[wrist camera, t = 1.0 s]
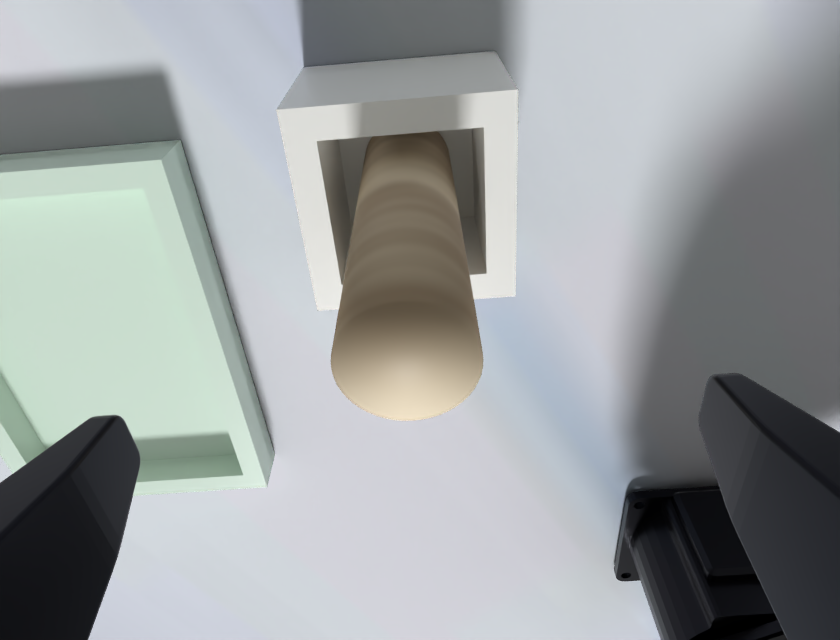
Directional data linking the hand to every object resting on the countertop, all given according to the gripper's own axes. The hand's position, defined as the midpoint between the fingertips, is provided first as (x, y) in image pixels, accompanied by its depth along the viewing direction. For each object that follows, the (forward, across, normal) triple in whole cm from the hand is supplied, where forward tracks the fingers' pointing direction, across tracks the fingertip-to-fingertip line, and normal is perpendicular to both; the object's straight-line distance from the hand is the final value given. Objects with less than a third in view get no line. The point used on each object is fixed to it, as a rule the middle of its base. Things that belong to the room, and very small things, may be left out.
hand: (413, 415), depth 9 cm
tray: (+12, +12, +6) cm, 18 cm away
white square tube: (+12, 0, 0) cm, 12 cm away
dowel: (+11, 0, 0) cm, 11 cm away
